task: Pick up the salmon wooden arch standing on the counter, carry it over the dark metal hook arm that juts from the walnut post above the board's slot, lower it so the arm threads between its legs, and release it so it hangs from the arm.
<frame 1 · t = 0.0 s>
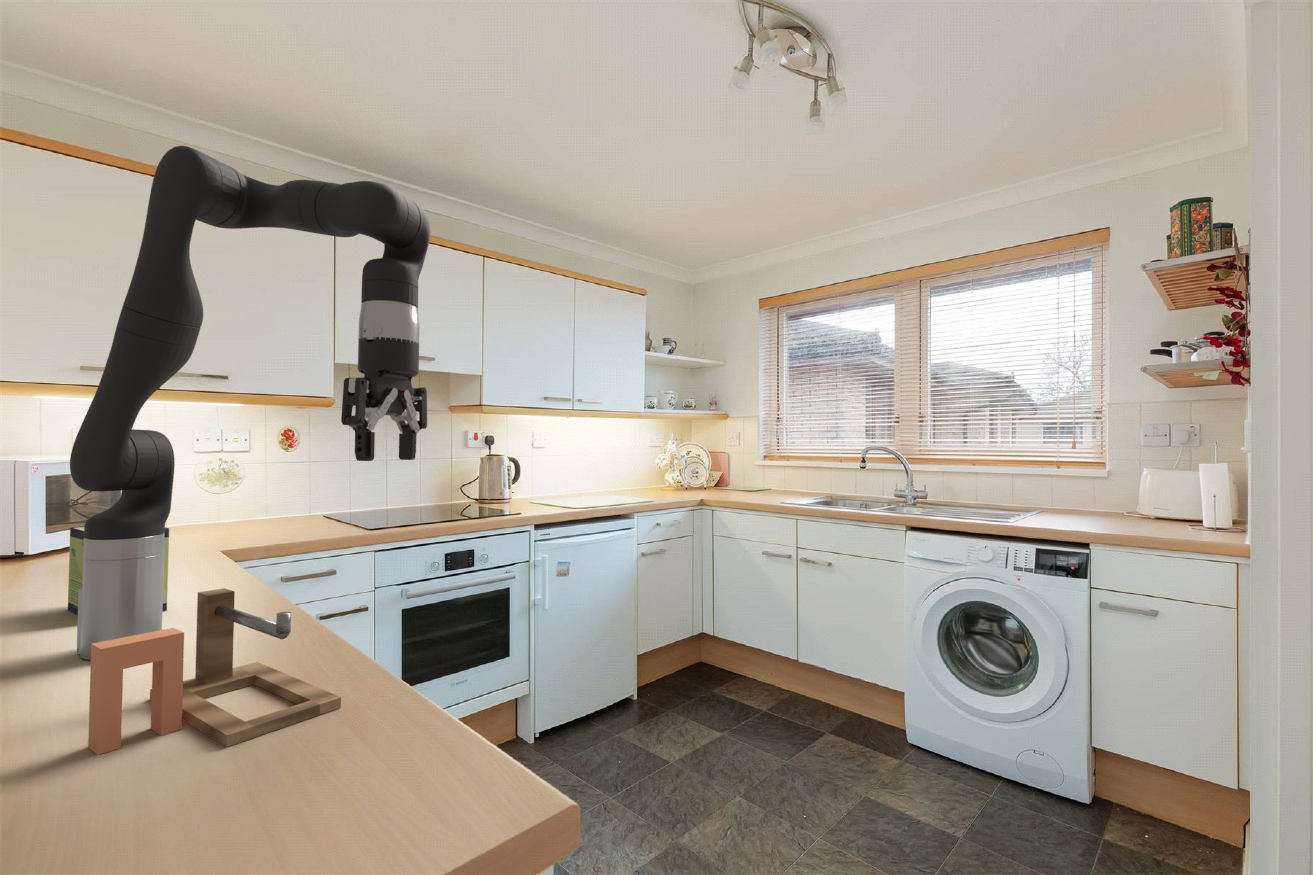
hand: (386, 460, 83), 29 cm above the table, fingers open, 8 cm apart
salmon wooden arch: (136, 737, 65), on the table
protein box: (117, 611, 115), on the table
hook arm: (251, 615, 74), point 11 cm above the table
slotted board: (217, 689, 79), on the table
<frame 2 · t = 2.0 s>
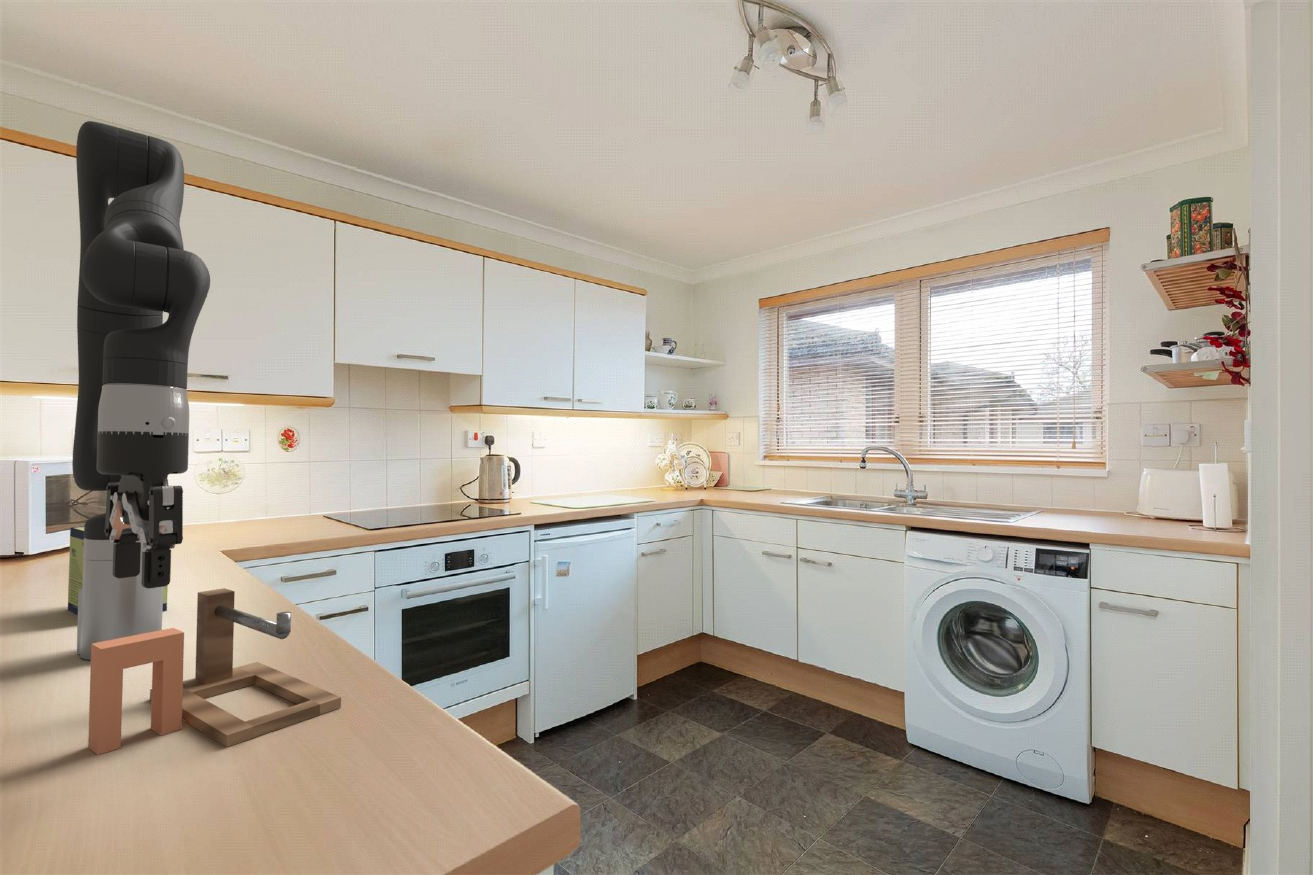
hand: (140, 581, 66), 16 cm above the table, fingers open, 8 cm apart
nothing on the table moved.
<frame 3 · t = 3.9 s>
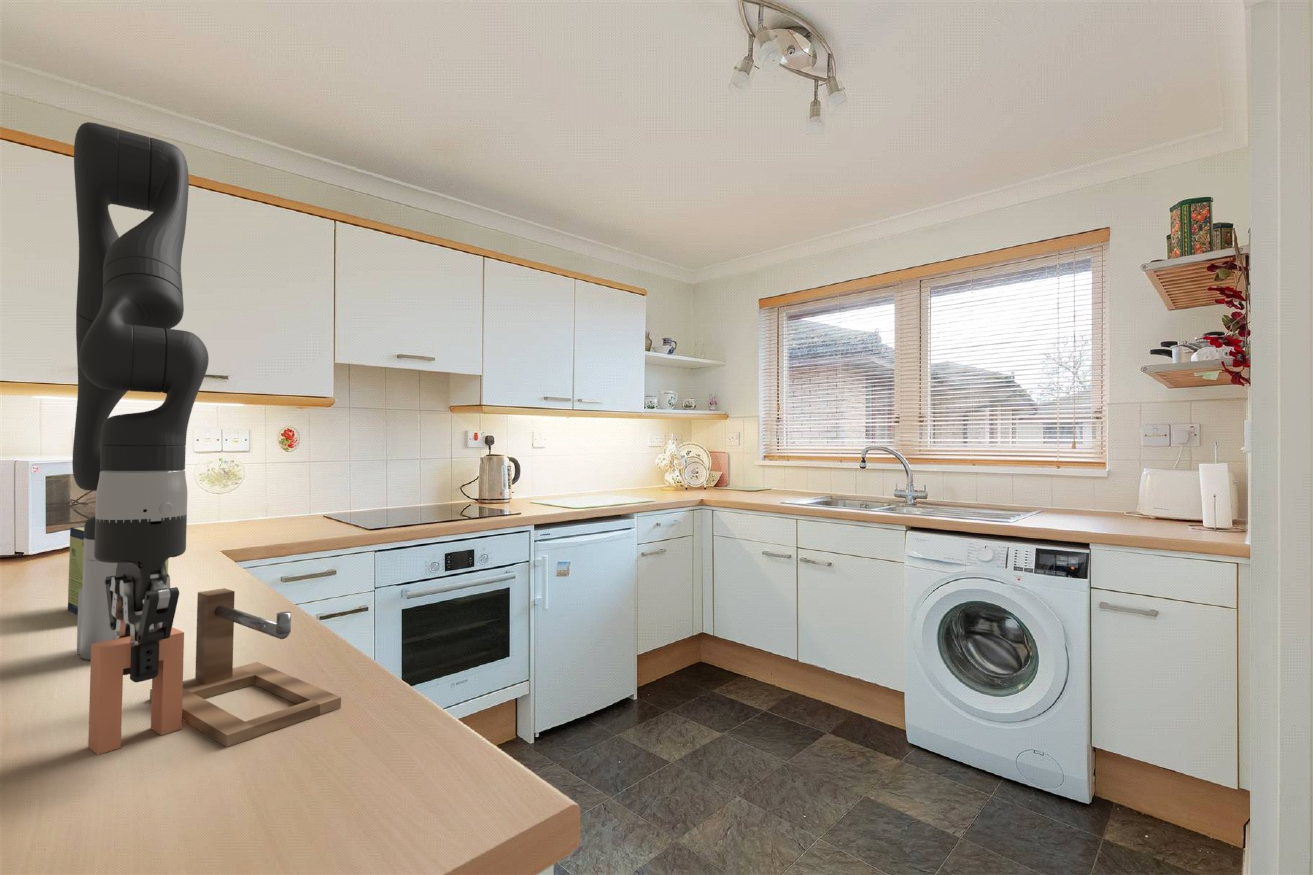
hand: (138, 675, 66), 7 cm above the table, fingers closed on salmon wooden arch, 3 cm apart
salmon wooden arch: (136, 737, 65), on the table, touching gripper
everything else where it was.
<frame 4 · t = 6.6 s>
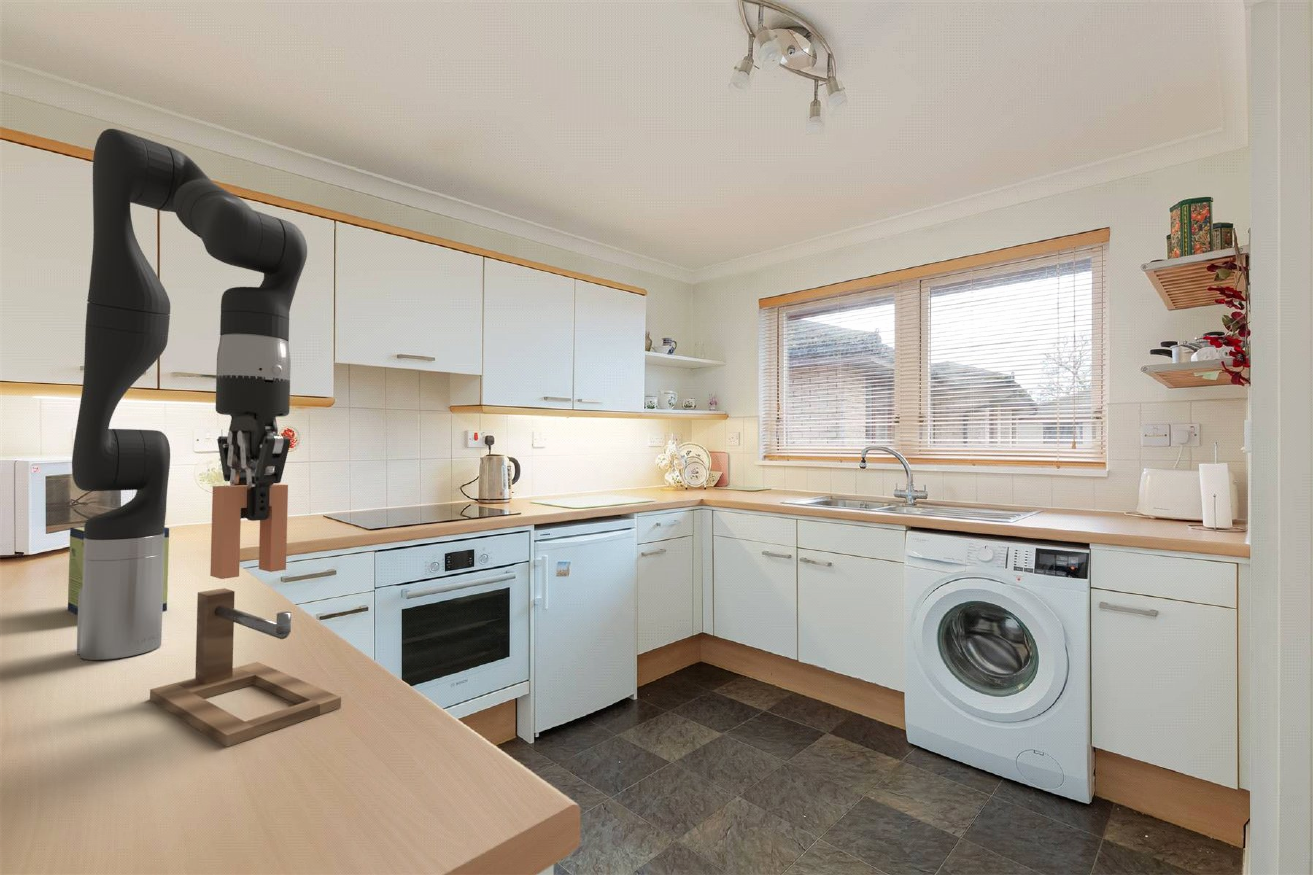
hand: (250, 518, 75), 22 cm above the table, fingers closed on salmon wooden arch, 3 cm apart
salmon wooden arch: (249, 572, 75), point 16 cm above the table, touching gripper
everything else where it was.
when the fingers open (11 cm above the table, at t = 9.1 s): salmon wooden arch drops 2 cm, resting on hook arm.
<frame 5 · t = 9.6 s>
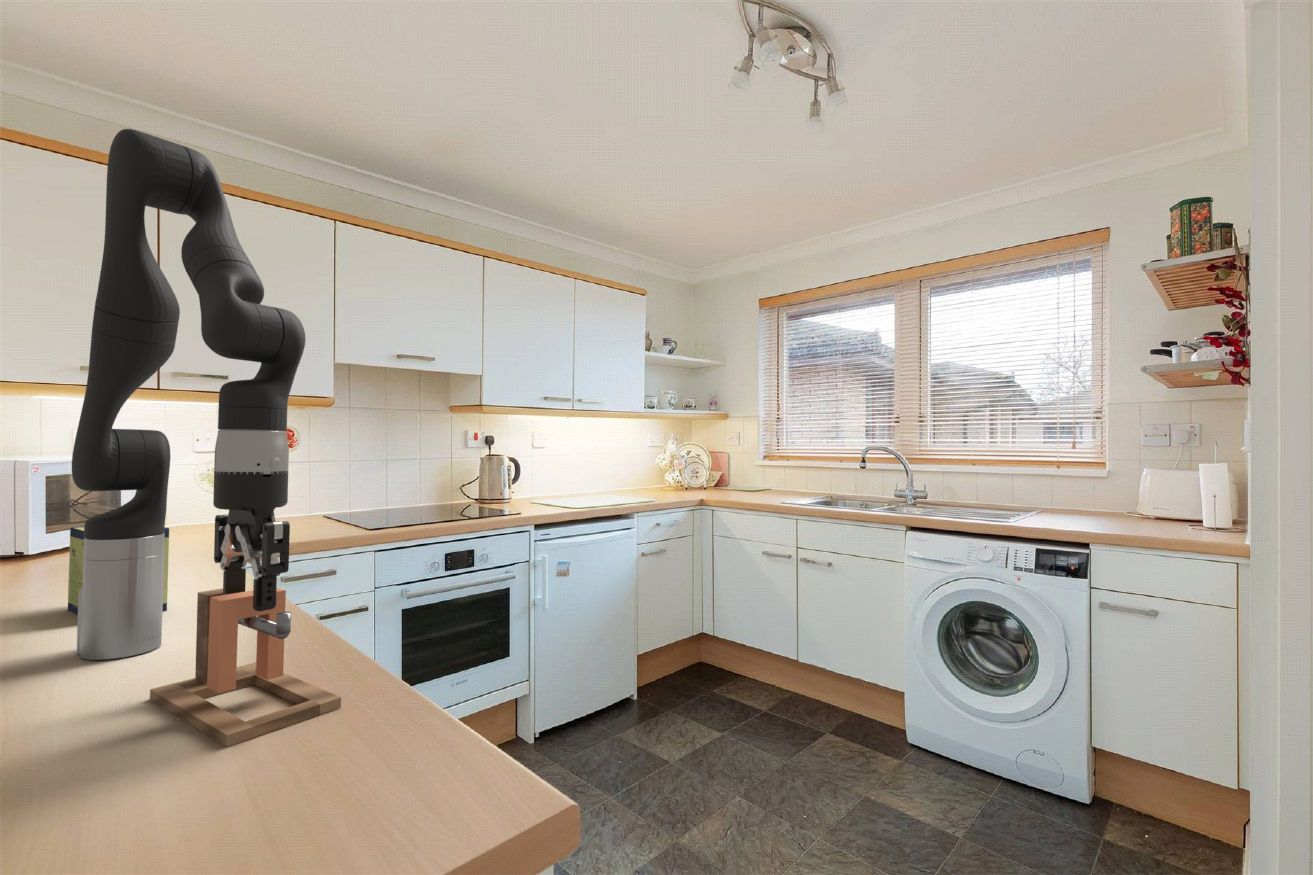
hand: (248, 604, 74), 12 cm above the table, fingers open, 7 cm apart
salmon wooden arch: (246, 681, 74), point 3 cm above the table, touching hook arm
everything else where it was.
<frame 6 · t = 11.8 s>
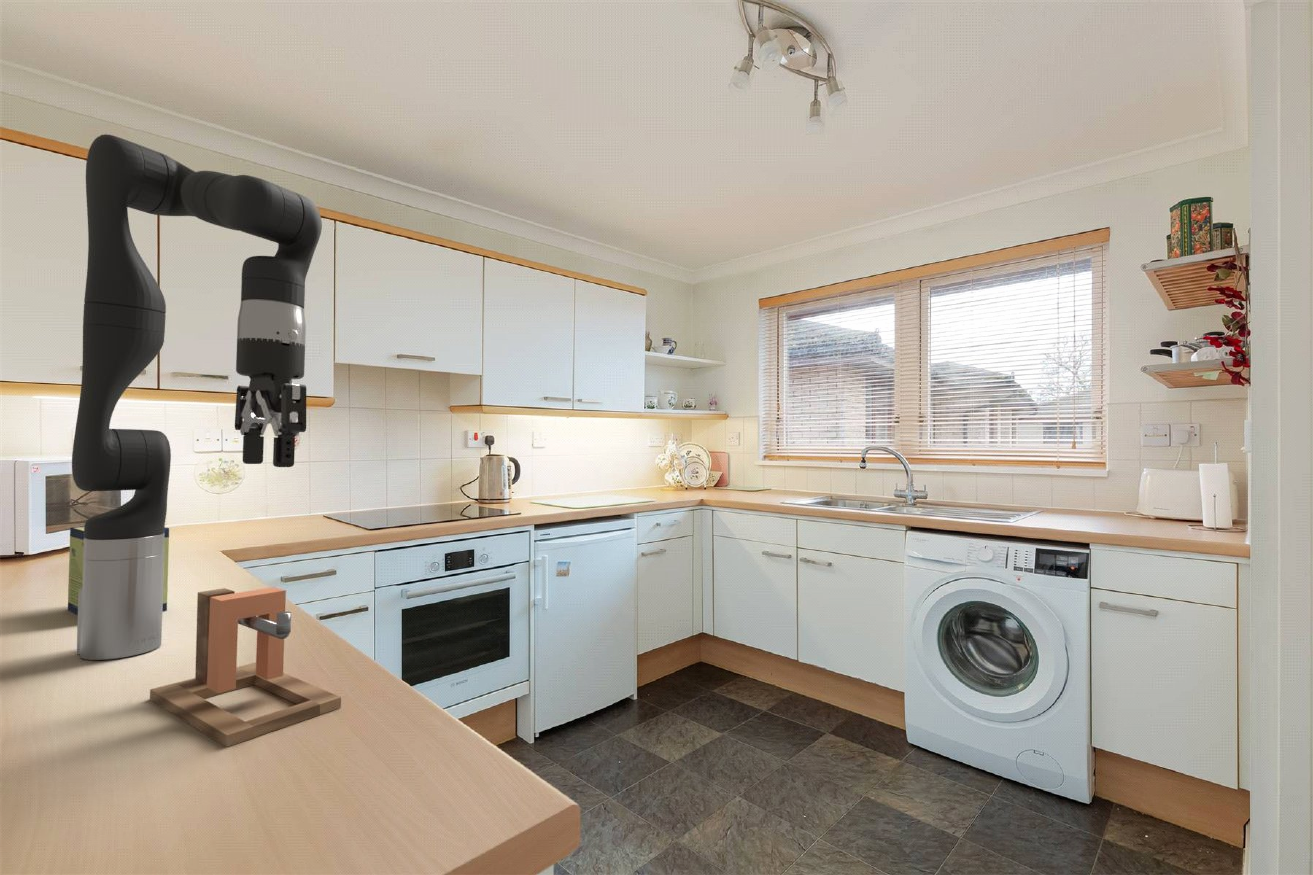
hand: (267, 465, 80), 29 cm above the table, fingers open, 8 cm apart
nothing on the table moved.
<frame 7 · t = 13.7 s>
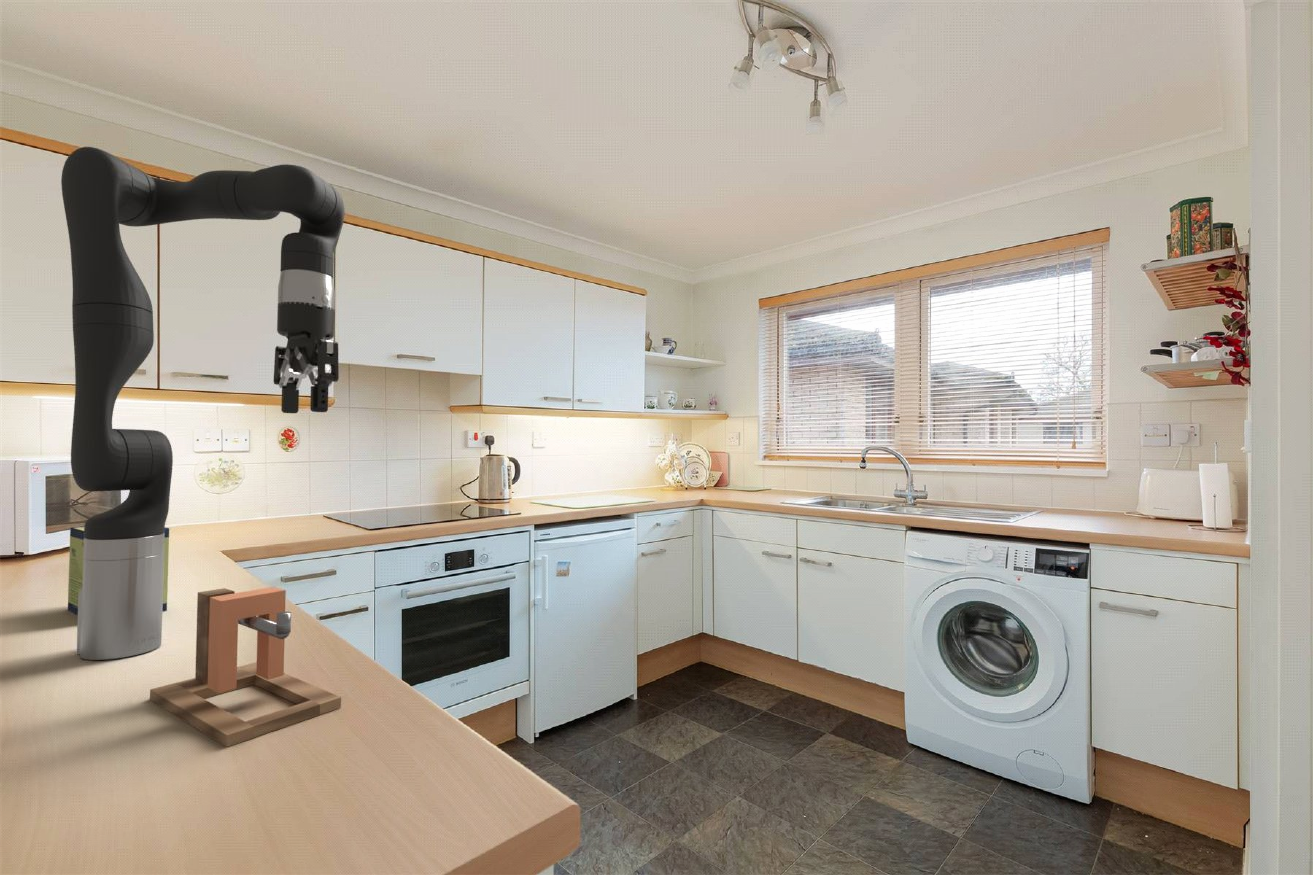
hand: (304, 412, 93), 36 cm above the table, fingers open, 8 cm apart
nothing on the table moved.
at the end: salmon wooden arch touching hook arm; salmon wooden arch inside the target area (0.3 cm from its centre), point 2.7 cm above the table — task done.
